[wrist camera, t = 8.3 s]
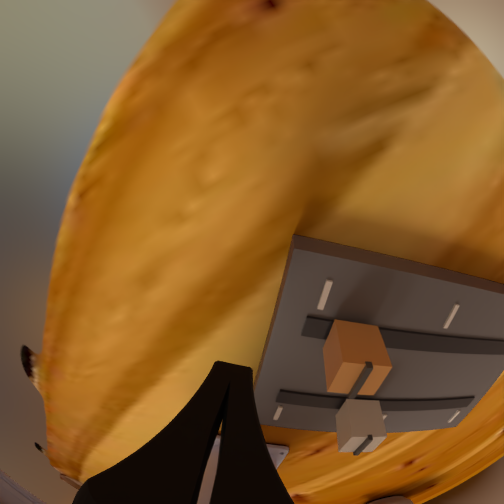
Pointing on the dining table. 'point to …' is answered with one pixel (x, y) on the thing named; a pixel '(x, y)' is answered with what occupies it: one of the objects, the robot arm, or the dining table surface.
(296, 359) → the fader panel
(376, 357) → the fader orange
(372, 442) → the fader ivory
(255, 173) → the dining table surface
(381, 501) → the teacup
